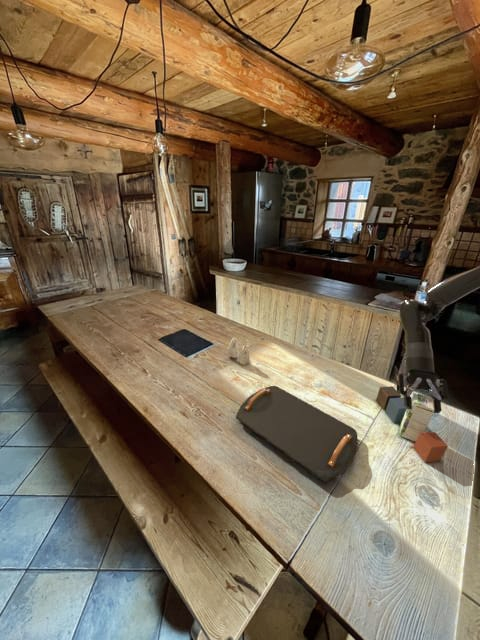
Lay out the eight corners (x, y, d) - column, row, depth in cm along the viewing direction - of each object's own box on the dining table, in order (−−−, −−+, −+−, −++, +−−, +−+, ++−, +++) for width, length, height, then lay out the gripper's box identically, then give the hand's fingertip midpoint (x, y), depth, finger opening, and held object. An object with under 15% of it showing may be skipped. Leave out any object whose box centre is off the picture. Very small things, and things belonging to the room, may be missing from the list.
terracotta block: (428, 446, 83) (434, 431, 81) (440, 461, 79) (448, 446, 76) (413, 447, 83) (419, 433, 80) (424, 462, 78) (431, 447, 76)
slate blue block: (398, 411, 97) (403, 397, 94) (407, 421, 92) (412, 407, 90) (385, 412, 96) (389, 398, 94) (393, 422, 92) (398, 408, 89)
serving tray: (365, 441, 85) (369, 427, 82) (333, 496, 69) (337, 481, 67) (267, 386, 108) (268, 374, 105) (228, 418, 92) (227, 405, 90)
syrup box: (400, 424, 91) (412, 391, 85) (420, 431, 89) (434, 398, 82) (399, 436, 87) (412, 402, 81) (420, 444, 84) (435, 409, 78)
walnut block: (388, 399, 102) (392, 386, 99) (396, 409, 98) (401, 395, 95) (375, 400, 102) (380, 387, 99) (383, 410, 97) (388, 396, 94)
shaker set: (225, 357, 127) (224, 337, 122) (230, 353, 130) (230, 333, 125) (245, 366, 120) (245, 345, 115) (250, 362, 123) (251, 342, 118)
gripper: (400, 353, 84) (403, 407, 79) (450, 358, 82) (456, 414, 77) (390, 358, 91) (392, 408, 86) (436, 363, 89) (441, 414, 84)
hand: (422, 411), depth 81 cm, fingers closed on syrup box, 7 cm apart
